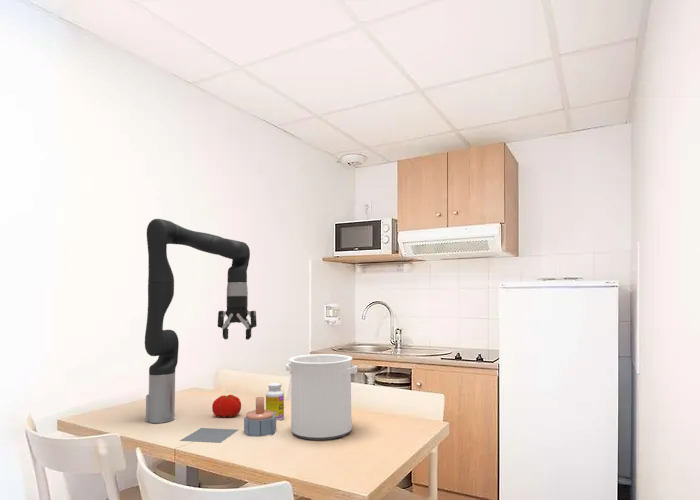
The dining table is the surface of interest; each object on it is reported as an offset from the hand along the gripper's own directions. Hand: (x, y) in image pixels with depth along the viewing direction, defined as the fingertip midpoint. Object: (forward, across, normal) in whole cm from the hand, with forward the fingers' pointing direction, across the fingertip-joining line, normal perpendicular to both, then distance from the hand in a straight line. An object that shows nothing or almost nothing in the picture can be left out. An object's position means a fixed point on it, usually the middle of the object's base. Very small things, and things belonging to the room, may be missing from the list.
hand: (236, 339), depth 176 cm
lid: (+25, +13, -10) cm, 30 cm away
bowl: (+30, +13, -10) cm, 34 cm away
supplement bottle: (+30, +12, +7) cm, 33 cm away
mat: (+30, -2, -16) cm, 34 cm away
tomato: (+30, -8, +9) cm, 33 cm away
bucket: (+30, +33, -5) cm, 45 cm away
